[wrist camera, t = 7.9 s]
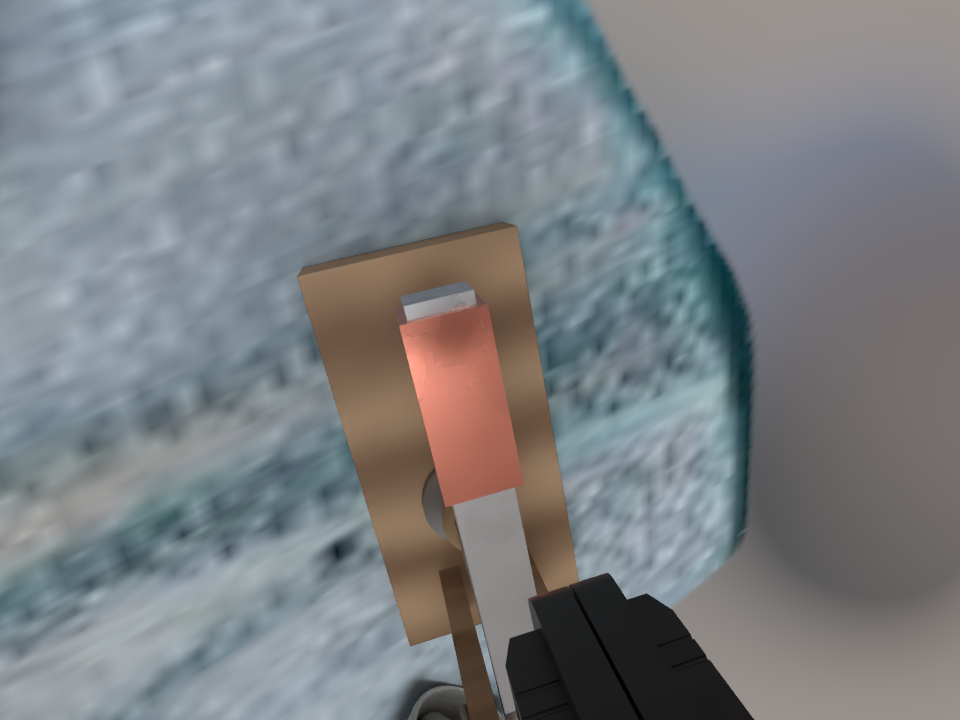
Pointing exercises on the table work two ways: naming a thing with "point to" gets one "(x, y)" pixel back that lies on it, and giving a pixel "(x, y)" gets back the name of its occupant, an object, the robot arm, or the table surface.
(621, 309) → the table surface
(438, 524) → the base
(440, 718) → the ceramic mug
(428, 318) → the lever
